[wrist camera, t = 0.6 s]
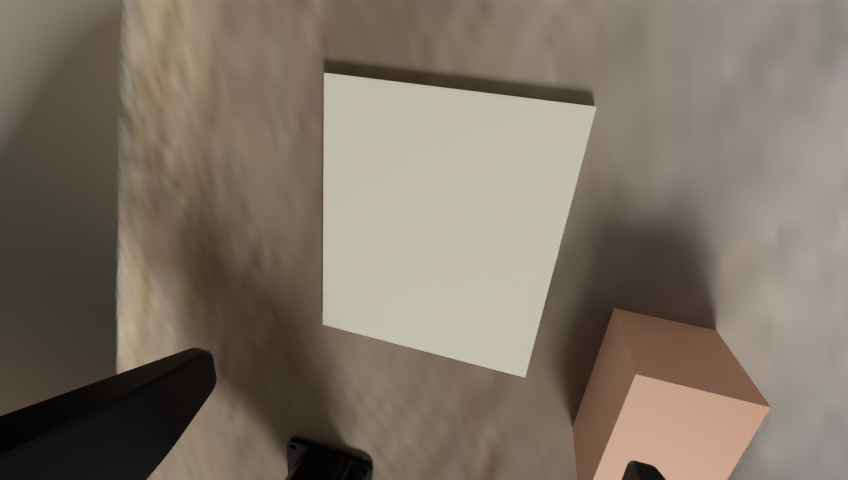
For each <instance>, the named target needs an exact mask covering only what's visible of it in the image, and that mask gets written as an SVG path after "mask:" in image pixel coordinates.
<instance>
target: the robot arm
mask: <svg viewBox="0 0 848 480" xmlns="http://www.w3.org/2000/svg"><path fill="white" fill-rule="evenodd" d="M216 380H217V378H216V371H215V364H214V358H213V354H212V353H211V352H210V351H208V350H204V349H200V348H191V349H188V350H185V351H182V352H179V353H176V354H174V355H171V356H168V357H165V358H162V359H160V360H157V361H154V362H151V363H148V364H146V365H143V366H140V367H137V368H134V369H131V370H129V371H126V372H123V373H120V374H117V375H115V376H112V377H109V378H107V379H103V380H101V381H98V382H95V383H92V384H89V385H87V386H84V387H81V388H78V389H76V390H72V391H70V392H67V393H64V394H61V395H58V396H56V397H53V398H50V399H47V400H45V401H42V402H39V403H36V404H33V405H30V406H28V407H25V408H22V409H19V410H16V411H14V412H11V413H8V414H5V415H2V416H0V480H146V479H147V478H148V477H149V476H150V475H151V474H152V472H153V471H154V470H155V469H156V468H157V466H158V465H159V464H160V463H161V462H162V460H163V459H164V458H165V457H166V455H167V454H168V453H169V452H170V450H171V449H172V448H173V446H174V445H175V444H176V442H177V441H178V439H179V438H180V437H181V435H182V434H183V432H184V431H185V429H186V428H187V427H188V425H189V424H190V422H191V421H192V420H193V418H194V417H195V415H196V414H197V412H198V411H199V410H200V408H201V407H202V405H203V404H204V402H205V401H206V400H207V398H208V397H209V395H210V394H211V393H212V391H213V389H214V387H215V385H216ZM287 458H288V475H287V477H286V479H285V480H372V475H373V466H372V464H371V463H370V462H368V461H366V460H362V459H359V458H356V457H353V456H350V455H347V454H344V453H341V452H338V451H335V450H332V449H329V448H326V447H323V446H320V445H317V444H314V443H311V442H308V441H305V440H302V439H299V438H295V437H292V438H291V439H290V440H289V442H288V443H287ZM622 480H666V479H665V478H664V476H663V475H662V474H661V473H660V471H659V470H658V469H657V468H656V467H655V466H653V465H650V464H646V463H642V462H639V461H635V460H632V461H630V462H629V463H628V464H627V467H626V469H625V472H624V475H623V477H622Z"/></svg>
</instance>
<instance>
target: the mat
mask: <svg viewBox="0 0 848 480" xmlns="http://www.w3.org/2000/svg"><path fill="white" fill-rule="evenodd" d="M595 111H596V106H591V105H583V104H574V103H566V102H558V101H550V100H542V99H534V98H526V97H518V96H510V95H502V94H494V93H486V92H478V91H470V90H462V89H454V88H446V87H438V86H430V85H422V84H414V83H406V82H398V81H390V80H382V79H374V78H366V77H358V76H350V75H342V74H334V73H324V178H323V325H327V326H331V327H334V328H338V329H342V330H346V331H350V332H353V333H357V334H361V335H365V336H369V337H372V338H376V339H380V340H384V341H388V342H392V343H395V344H399V345H403V346H407V347H411V348H414V349H418V350H422V351H426V352H430V353H433V354H437V355H441V356H445V357H449V358H452V359H456V360H460V361H464V362H468V363H471V364H475V365H479V366H483V367H487V368H490V369H494V370H498V371H502V372H506V373H510V374H513V375H517V376H521V377H525V376H526V372H527V368H528V365H529V361H530V357H531V353H532V349H533V346H534V342H535V338H536V334H537V330H538V327H539V323H540V319H541V315H542V312H543V308H544V304H545V300H546V296H547V293H548V289H549V285H550V281H551V278H552V274H553V270H554V266H555V262H556V259H557V255H558V251H559V247H560V243H561V240H562V236H563V232H564V228H565V225H566V221H567V217H568V213H569V209H570V206H571V202H572V198H573V194H574V191H575V187H576V183H577V179H578V175H579V172H580V168H581V164H582V160H583V156H584V153H585V149H586V145H587V141H588V138H589V134H590V130H591V126H592V122H593V119H594V115H595Z"/></svg>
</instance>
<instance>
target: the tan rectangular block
mask: <svg viewBox="0 0 848 480" xmlns="http://www.w3.org/2000/svg"><path fill="white" fill-rule="evenodd" d="M770 408H771V407H770V406H769V404H768V403H767V402H766V400H765V399H764V397H763V396H762V394H761V393H760V392H759V390H758V389H757V387H756V386H755V385H754V383H753V382H752V380H751V379H750V377H749V376H748V375H747V373H746V372H745V370H744V369H743V368H742V366H741V365H740V363H739V362H738V360H737V359H736V358H735V356H734V355H733V353H732V352H731V351H730V349H729V348H728V346H727V345H726V343H725V342H724V341H723V339H722V338H721V336H720V335H719V333H718V332H717V331H716V330H712V329H707V328H703V327H698V326H694V325H689V324H684V323H680V322H675V321H671V320H666V319H662V318H657V317H653V316H648V315H643V314H639V313H634V312H630V311H625V310H621V309H616V308H614V310H613V313H612V316H611V318H610V321H609V324H608V327H607V330H606V333H605V336H604V338H603V341H602V344H601V347H600V350H599V353H598V356H597V359H596V361H595V364H594V367H593V370H592V373H591V376H590V379H589V382H588V384H587V387H586V390H585V393H584V396H583V399H582V402H581V404H580V407H579V410H578V413H577V416H576V419H575V422H574V425H573V438H574V448H575V459H576V469H577V479H578V480H622V477H623V475H624V472H625V469H626V467H627V464H628V463H629V462H630V461H632V460H635V461H639V462H642V463H646V464H650V465H653V466H655V467H656V468H657V469H658V470H659V471H660V473H661V474H662V475H663V476H664V478H665V479H666V480H727V479H728V478H729V476H730V474H731V473H732V471H733V469H734V468H735V466H736V464H737V463H738V461H739V459H740V458H741V456H742V454H743V453H744V451H745V449H746V448H747V446H748V444H749V443H750V441H751V439H752V438H753V436H754V434H755V433H756V431H757V429H758V428H759V426H760V424H761V423H762V421H763V419H764V418H765V416H766V414H767V413H768V411H769V409H770Z"/></svg>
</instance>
